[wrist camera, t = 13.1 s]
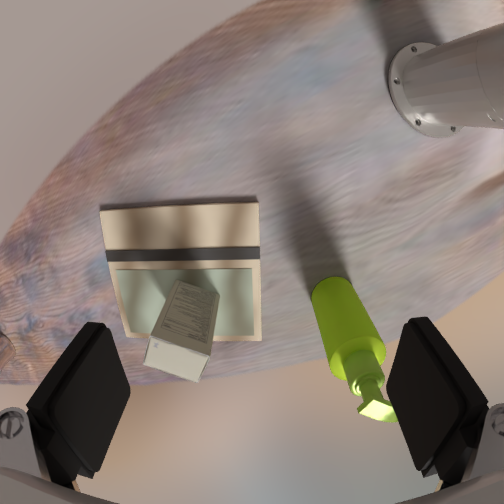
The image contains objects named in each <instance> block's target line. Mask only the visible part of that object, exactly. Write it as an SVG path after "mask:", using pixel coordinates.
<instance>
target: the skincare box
mask: <svg viewBox="0 0 504 504" xmlns="http://www.w3.org/2000/svg"><path fill="white" fill-rule="evenodd" d="M219 300H220V295H218V294H216V293H213V292H210V291H208V290H205V289H202V288H200V287H197V286H194V285H191V284H188V283H185V282H182V281H179V280H175V282H174V284H173V286H172V288H171V291H170V293H169V295H168V297H167V299H166V301H165V303H164V305H163V308H162V310H161V312H160V314H159V317H158V319H157V321H156V323H155V325H154V328H153V330H152V332H151V334H150V337H149V340H148V343H147V347H146V351H145V355H144V360H143V364H144V365H146V366H149V367H151V368H154V369H156V370H159V371H162V372H164V373H167V374H170V375H173V376H176V377H179V378H182V379H185V380H189V381H192V382H195V383H198V382H199V380H200V378H201V376H202V374H203V372H204V370H205V368H206V366H207V364H208V362H209V359H210V355H211V349H212V342H213V336H214V330H215V324H216V318H217V312H218V306H219Z"/></svg>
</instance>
